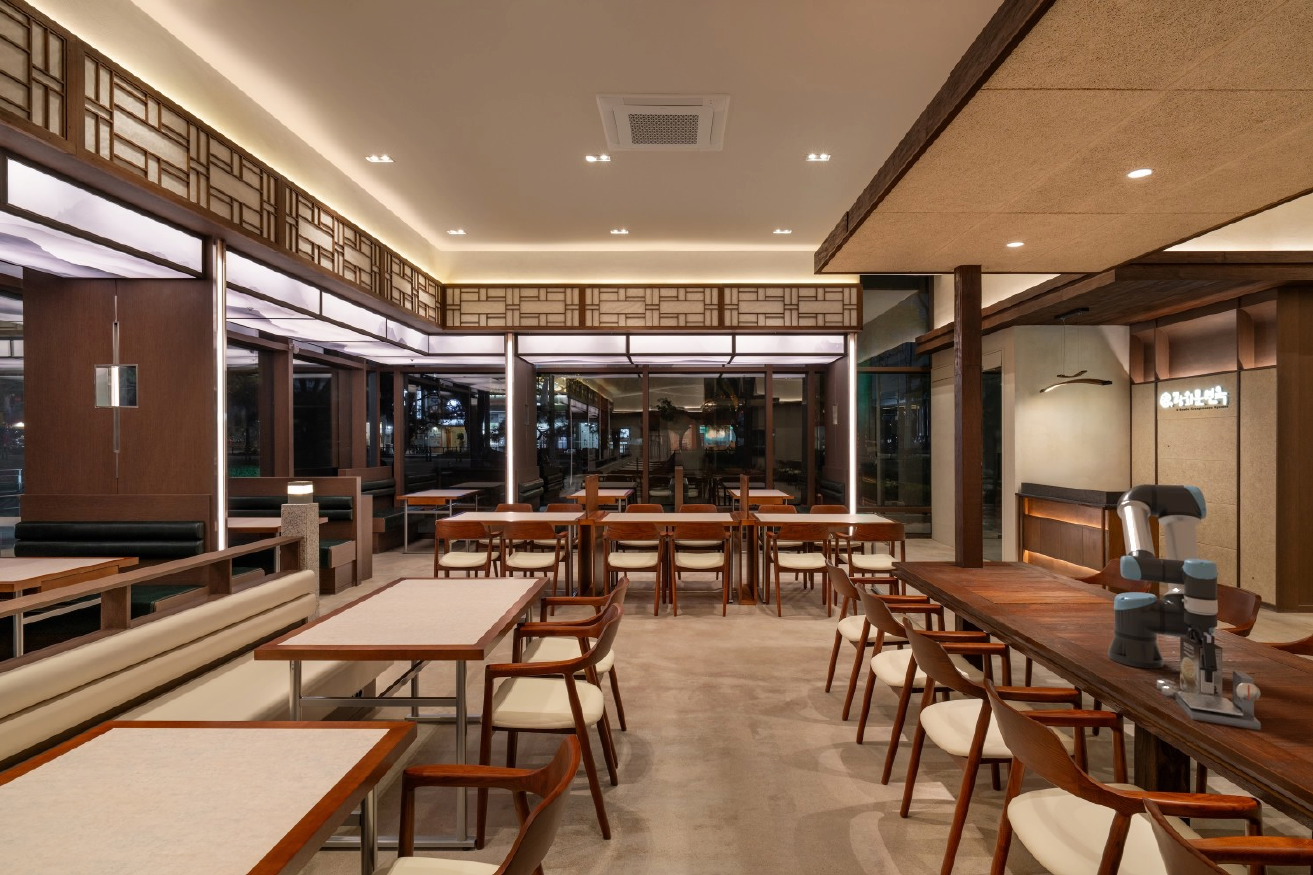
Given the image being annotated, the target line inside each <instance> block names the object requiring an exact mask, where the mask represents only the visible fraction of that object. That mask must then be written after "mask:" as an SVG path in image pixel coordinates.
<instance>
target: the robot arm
mask: <svg viewBox="0 0 1313 875" xmlns="http://www.w3.org/2000/svg"><path fill="white" fill-rule="evenodd" d="M1116 512H1117V515H1118V517H1119V518H1120V519H1121V523H1122V531H1123V540H1124V545H1125V546H1124V548H1125V554H1126V555H1122V556H1121V557H1120V565H1119V566H1120V568H1119V569H1120V575H1121V577H1123V578H1124V579H1127V580H1133V581H1142V582H1143V581H1144V582H1154V583H1164V584H1167V586H1168V591H1167V592H1165V593H1164V594H1163V599H1159V598H1158V597H1157V596H1156V595H1155V594H1153V593H1148V592H1147V593H1146V592H1141V591H1140V592H1137V591H1136V592H1132V591H1131V592H1122V593H1119V594H1117V595H1116V596H1115V597H1114V601H1113V602H1114V606H1113V610H1114V616H1113V617H1114V628H1113V629H1114V631H1113V638H1112V640H1111V643H1110V645H1109V647H1108V649H1107V656H1108V658H1109V659H1110V660H1112V661H1114V662H1116V663H1119V664H1121V665H1126V666H1131V667H1136V668H1141V669H1142V668H1143V669H1152V670H1153V669H1154V670H1155V669H1160V668H1161V669H1162V668H1163V667H1164V666H1165V665H1164V657H1163V654H1162V652H1161V649H1160V647H1159V644H1158V639H1157V638H1158V636H1157V635H1161V636H1162V635H1163V636H1169V637H1176V638H1180V637H1189V638H1190V639H1194V640H1195V641H1196V644H1197V645H1203V655H1202V667H1200V668H1199V669H1200V670H1201V692H1205V693H1212V694H1214V671H1216V672H1217V663H1216V654H1215V645H1214V644H1215V640H1216V639H1215V636H1214V633H1215V629H1216V628H1217V627H1218V615H1217V613H1218V612H1219V607H1218V606H1219V605H1218V602H1219V601H1218V576H1219V572H1218V565H1217V563H1216V562H1215V561H1212V560H1209V559H1203V558H1202V559H1200V558H1199V549H1198V548H1199V547H1198V537H1197V527H1198V526H1199V525H1200V524H1201V523H1202V520H1204V519H1206V517H1207V513H1208V512H1207V504H1206V499H1205V496H1204V493H1203V491H1202V490H1201V489H1200V488H1199V487H1197V486H1195V485H1185V484H1180V485H1179V484H1178V485H1177V484H1176V485H1174V484H1151V483H1147V484H1146V483H1143V484H1139V485H1136V486H1133V487H1131V488H1129V489H1127V490H1126V491H1124V492H1123V493H1122V495H1121V496H1120V497H1119V499H1118V501H1117V504H1116ZM1150 517H1157V518H1158V520H1157V522H1158V523H1159V524H1161V525H1162V526H1163V527H1164V540H1165V555H1166V556H1165V558H1156V553H1155V549H1154V548H1155V547H1154V543H1153V542H1154V541H1153V537H1152V532H1151V526H1150V525H1151V524H1150V521H1149V518H1150Z"/></svg>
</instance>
